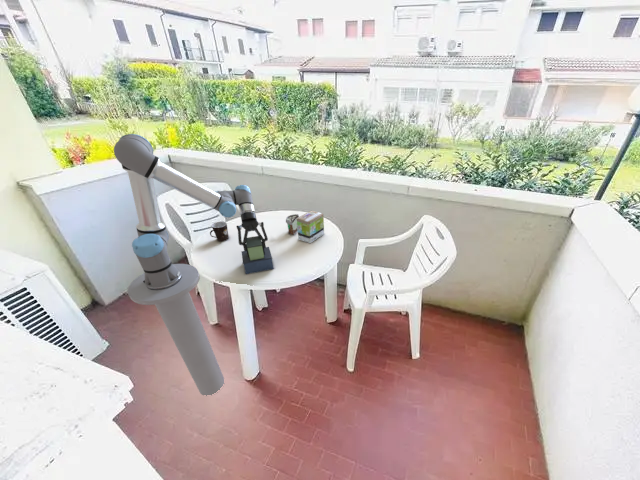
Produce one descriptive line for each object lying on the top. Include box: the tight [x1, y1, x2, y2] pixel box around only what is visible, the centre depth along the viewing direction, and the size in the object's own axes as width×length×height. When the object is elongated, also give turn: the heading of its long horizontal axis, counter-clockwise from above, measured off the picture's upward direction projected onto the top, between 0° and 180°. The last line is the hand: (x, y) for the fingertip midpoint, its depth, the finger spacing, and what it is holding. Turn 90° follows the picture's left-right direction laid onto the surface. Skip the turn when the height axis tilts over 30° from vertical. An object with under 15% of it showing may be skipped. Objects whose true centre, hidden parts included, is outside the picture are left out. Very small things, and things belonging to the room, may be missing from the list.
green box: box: [246, 235, 264, 261], centre depth 146 cm, size 7×10×8 cm
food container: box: [285, 213, 300, 236], centre depth 183 cm, size 12×6×10 cm, turn 168°
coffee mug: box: [209, 221, 230, 242], centre depth 173 cm, size 12×9×10 cm
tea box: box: [297, 210, 325, 244], centre depth 176 cm, size 15×10×15 cm, turn 151°
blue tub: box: [240, 246, 274, 275], centre depth 150 cm, size 14×12×7 cm
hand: (256, 255), depth 145 cm, fingers closed on green box, 7 cm apart
